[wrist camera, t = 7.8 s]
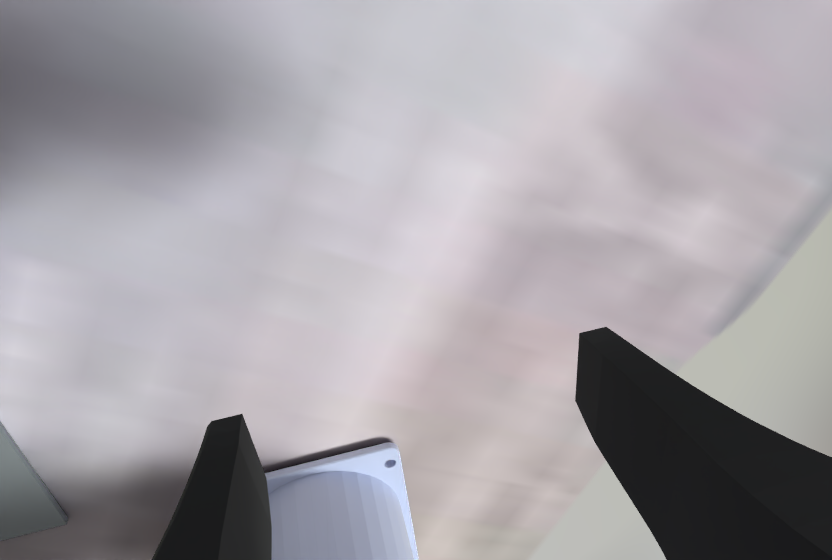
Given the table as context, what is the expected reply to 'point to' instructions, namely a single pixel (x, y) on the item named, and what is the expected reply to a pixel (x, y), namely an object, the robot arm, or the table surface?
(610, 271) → the table surface
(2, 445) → the slate mat
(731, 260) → the table surface
